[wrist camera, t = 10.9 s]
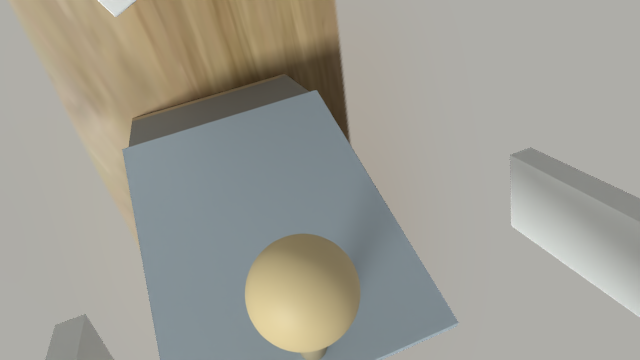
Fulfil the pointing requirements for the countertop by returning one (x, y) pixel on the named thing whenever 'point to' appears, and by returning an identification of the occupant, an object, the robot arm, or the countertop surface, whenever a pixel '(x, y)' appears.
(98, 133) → the countertop surface
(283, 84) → the carton
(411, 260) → the flap
